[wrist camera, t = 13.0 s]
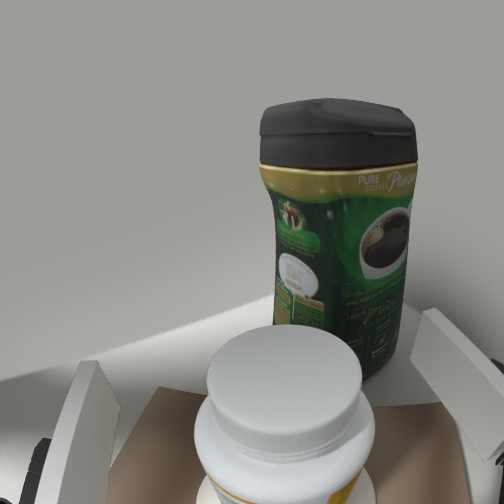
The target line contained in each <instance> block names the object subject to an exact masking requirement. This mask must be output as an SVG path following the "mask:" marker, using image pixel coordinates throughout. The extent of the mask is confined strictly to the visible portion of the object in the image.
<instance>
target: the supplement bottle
mask: <svg viewBox="0 0 504 504" xmlns="http://www.w3.org/2000/svg"><path fill="white" fill-rule="evenodd" d="M361 385H362V370H361V366H360V363H359V360H358V358H357V356H356V355H355V353H354V352H353V350H352V349H351V348H350V347H349V346H348V345H347V344H346V343H345V342H343V341H342V340H341V339H339V338H338V337H336V336H334V335H332V334H330V333H328V332H326V331H323V330H320V329H317V328H313V327H308V326H303V325H290V324H283V325H272V326H266V327H261V328H257V329H254V330H251V331H248V332H246V333H243V334H241V335H239V336H237V337H235V338H234V339H232V340H230V341H229V342H228V343H226V344H225V345H224V346H223V347H222V348H221V349H220V350H219V351H218V352H217V353H216V355H215V356H214V358H213V359H212V361H211V363H210V366H209V369H208V372H207V389H208V394H209V395H208V396H207V397H206V399H205V400H204V402H203V403H202V405H201V407H200V409H199V412H198V414H197V418H196V422H195V428H194V439H195V445H196V449H197V453H198V456H199V459H200V461H201V463H202V466H203V468H204V470H205V472H206V474H207V476H208V478H209V480H210V482H211V484H212V486H213V488H214V490H215V492H216V494H217V496H218V498H219V500H220V502H221V503H222V504H345V503H346V501H347V499H348V497H349V495H350V493H351V491H352V489H353V487H354V485H355V483H356V482H357V479H358V477H359V475H360V473H361V471H362V469H363V467H364V465H365V463H366V460H367V458H368V456H369V454H370V451H371V448H372V445H373V441H374V435H375V421H374V415H373V411H372V409H371V406H370V403H369V402H368V400H367V398H366V396H365V395H364V393H363V392H362V391H361Z"/></svg>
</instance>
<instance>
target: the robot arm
mask: <svg viewBox="0 0 504 504" xmlns="http://www.w3.org/2000/svg"><path fill="white" fill-rule="evenodd" d="M409 360H410V361H411V362H412V363H413V365H414V366H415V367H416V369H417V370H418V371H419V372H420V374H421V375H422V376H423V378H424V379H425V380H426V382H427V383H428V384H429V386H430V387H431V388H432V390H433V391H434V392H435V394H436V395H437V396H438V398H439V399H440V400H441V402H442V403H443V404H444V406H445V407H446V409H447V410H448V411H449V413H450V414H451V415H452V417H453V418H454V420H455V421H456V422H457V424H458V425H459V427H460V428H461V430H462V431H463V432H464V434H465V435H466V437H467V438H468V440H469V441H470V442H471V444H472V445H473V447H474V448H475V450H476V451H477V453H478V454H479V456H480V457H481V459H482V460H483V462H484V463H485V462H486V461H487V460H489V459H490V458H492V457H493V456H495V455H496V454H497V453H498V452H499V451H500V450H501V449H502V447H503V446H504V365H503V364H502V363H500V362H498V361H496V360H495V359H491V360H489V359H488V358H487V357H486V356H485V355H484V354H483V353H482V352H481V351H480V350H479V349H478V348H477V347H476V346H475V345H474V344H473V343H472V342H471V341H470V340H469V339H468V338H467V337H466V336H465V335H464V334H463V333H462V332H461V331H460V330H459V329H458V328H457V327H456V326H455V325H454V324H453V323H452V322H450V321H449V320H448V319H447V318H446V317H445V316H444V315H443V314H442V313H441V312H440V311H439V310H438V309H436V308H432V309H428V310H425V311H422V314H421V319H420V323H419V327H418V330H417V334H416V338H415V342H414V345H413V349H412V352H411V356H410V359H409ZM120 408H121V406H120V404H119V403H118V401H117V399H116V397H115V395H114V393H113V391H112V389H111V387H110V385H109V383H108V381H107V379H106V377H105V375H104V373H103V371H102V369H101V367H100V365H99V363H98V361H80V364H79V366H78V369H77V371H76V374H75V376H74V379H73V381H72V384H71V386H70V389H69V392H68V394H67V397H66V400H65V402H64V405H63V408H62V411H61V414H60V416H59V419H58V422H57V425H56V428H55V431H54V434H53V437H52V439H48V438H42V440H41V441H40V442H39V443H38V445H37V446H36V447H35V449H34V452H33V455H32V458H31V461H32V462H30V465H29V468H28V470H29V472H27V475H26V478H25V482H24V486H23V489H22V493H21V497H20V501H19V504H105V500H106V491H107V484H108V477H109V470H110V463H111V457H112V451H113V445H114V439H115V434H116V428H117V423H118V418H119V413H120ZM503 458H504V452H503V453H502V454H501V455H500V456H499V458H498V459H497V460H496V464H495V465H498V464H499V463H500V462H501V461H502V460H503ZM501 465H503V475H502V484H501V491H500V498H499V504H504V460H503V461H502V463H501ZM0 504H12V503H11V502H9V501H8V500H7V499H4V498H0Z"/></svg>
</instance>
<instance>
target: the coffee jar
mask: <svg viewBox="0 0 504 504" xmlns="http://www.w3.org/2000/svg"><path fill="white" fill-rule="evenodd" d="M260 135H261V143H260V162H261V163H260V165H259V168H260V173H261V176H262V180H263V182H264V185H265V187H266V188H267V190H268V193H269V194H270V197H271V200H272V204H273V209H274V218H275V231H276V272H275V274H276V275H275V298H274V313H273V325H283V324H290V325H303V326H308V327H313V328H317V329H320V330H323V331H326V332H328V333H330V334H332V335H334V336H336V337H338V338H339V339H341V340H342V341H343V342H345V343H346V344H347V345H348V346H349V347H350V348H351V349H352V350H353V352H354V353H355V355H356V356H357V358H358V360H359V363H360V366H361V370H362V382H363V381H365V380H366V379H367V378H369V377H370V376H371V375H373V374H374V373H375V372H377V371H378V370H379V369H380V368H381V367H382V366H383V365H384V364H385V363H386V362H387V361H388V360H389V359H390V358H391V357H392V355H393V354H394V352H395V348H396V344H397V339H398V334H399V328H400V320H401V312H402V303H403V293H404V285H405V276H406V266H407V254H408V242H409V228H410V216H411V207H412V200H413V194H414V188H415V182H416V176H417V169H418V163H417V160H418V154H417V142H416V131H415V126H414V124H413V122H412V121H411V120H410V119H409V118H408V117H407V116H406V115H404V113H403V112H402V111H401V110H400V109H398V108H394V107H389V106H384V105H380V104H374V103H369V102H363V101H356V100H348V99H333V98H323V99H311V100H304V101H297V102H291V103H285V104H281V105H276V106H272V107H269V108H267V109H266V110H265V111H264V114H263V116H262V119H261V124H260Z"/></svg>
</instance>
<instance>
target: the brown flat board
mask: <svg viewBox="0 0 504 504" xmlns="http://www.w3.org/2000/svg"><path fill="white" fill-rule="evenodd" d="M206 397H207V395H201V394H195V393H189V392H184V391H179V390H174V389H169V388H164V387H158V389H157V390H156V392H155V394H154V396H153V397H152V399H151V401H150V402H149V404H148V406H147V407H146V409H145V411H144V412H143V414H142V416H141V417H140V419H139V421H138V423H137V424H136V426H135V428H134V429H133V431H132V433H131V434H130V436H129V438H128V440H127V441H126V443H125V445H124V446H123V448H122V450H121V452H120V453H119V455H118V457H117V458H116V460H115V462H114V464H113V465H112V467H111V469H110V470H109V477H108V484H107V491H106V500H105V504H222V503H221V502H220V500H219V498H218V496H217V494H216V492H215V490H214V488H213V486H212V484H211V482H210V480H209V478H208V476H207V474H206V472H205V470H204V468H203V466H202V463H201V461H200V459H199V456H198V453H197V449H196V445H195V439H194V428H195V422H196V418H197V414H198V412H199V409H200V407H201V405H202V403H203V402H204V400H205V399H206ZM371 409H372V411H373V415H374V421H375V435H374V441H373V445H372V448H371V451H370V454H369V456H368V458H367V460H366V463H365V465H364V467H363V469H362V471H361V473H360V475H359V477H358V479H357V482H356V483H355V485H354V487H353V489H352V491H351V493H350V495H349V497H348V499H347V501H346V503H345V504H470V500H469V493H468V486H467V480H466V474H465V469H464V464H463V459H462V454H461V449H460V445H459V440H458V436H457V432H456V428H455V424H454V420H453V417H452V415H451V414H450V413H449V411H448V410H447V409H446V407H445V406H444V404H443V403H442V402H439V403H429V404H418V405H404V406H386V407H371Z"/></svg>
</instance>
